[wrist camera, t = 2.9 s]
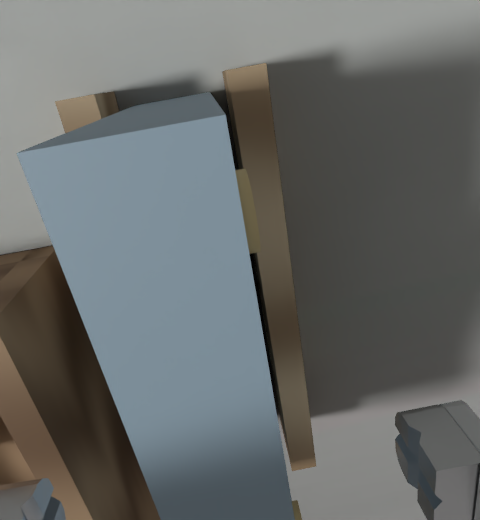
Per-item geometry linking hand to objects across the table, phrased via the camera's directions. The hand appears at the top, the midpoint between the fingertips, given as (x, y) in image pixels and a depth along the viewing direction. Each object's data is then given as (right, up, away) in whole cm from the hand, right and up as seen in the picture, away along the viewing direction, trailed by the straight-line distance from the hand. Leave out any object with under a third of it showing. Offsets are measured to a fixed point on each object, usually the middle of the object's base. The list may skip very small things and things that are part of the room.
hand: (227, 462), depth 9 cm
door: (-1, +4, +6) cm, 7 cm away
